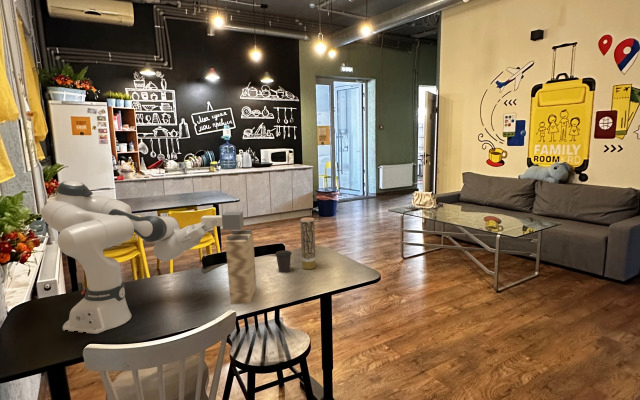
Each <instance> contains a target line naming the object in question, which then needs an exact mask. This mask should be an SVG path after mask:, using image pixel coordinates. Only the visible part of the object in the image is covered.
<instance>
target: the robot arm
mask: <svg viewBox="0 0 640 400" xmlns="http://www.w3.org/2000/svg"><path fill="white" fill-rule="evenodd" d="M92 195H93V191H92V190H90V189H89V188H88V186H87V185H85V184H84V183H82V182H80V181H78V180H77V181H76V180H67V181H62V182H59V184H58V185H57V188H56V196H55V200H52V201H49V202H47V203H46V204H45V205H44V206H43V207H42V209H41V211H40V215H41V218H42V220H43V221H44V222H45V223H46V224H47V225H48V226H49V227H51V228H52V229H53V230H55V231H57V232H59V234H58V236H57V246H58V248H59V251H61V253H63V254H65V255H66V256H68V257H71V258H73V259H75V260H76V261H78V263H79V264H80V265H81V267H82V268H83V270H84V274H85V277H86V279H85V280H86V282H87V286H86V288H84V289H83V290H82V291H81V292H80V293H81V296H82V295H84V294H85V295H84V297H83V298H82V299H80V301H79V302H77V303H76V304H75V305H74V306H73V307H72V308H71V310H70V311H69V317H68V320H67V321H65V323H64V324H63V325H62V331H65V330H68V331H67V332H74V331H78V332H77V333H83V332H86V333H85V334H94V335H95V334H100V333H103V332H104V331H108V330H111V329H114V328H117V327H120V326H122V325H124V324H126V323H127V322H128V321H130V320H131V318H132V317H133V316H132V313H131V311H130V309H129V307H128V304H127V300H126V290H125V284H124V280H123V278H122V269H121V264H120V262H119V261H118V260H117V259H115V258H113V257H111V256H109V257H108V256H105V254H104V250H105V249H109V248H111V247H114V246H115V247H116V246H119V245H121V244H123V243H125V242H126V241H128V240H130V239H132V238H133V236H134V234H136V235H137V236H138V237H139V238H141V239H142V240H143V241H146V242H147V243H148V242H149V243H152V242H154V247H153V249H152V252H153V254H154V257H156V259H158V260H160V261H162V262H170V261H172V260H175V259H176V258H178V257H179V256H181V255H182V254H183V253H185V252H187V251H189V250H192V249H193V248H194V247H196V246H197V245H199V244H200V243H201V241H202V239H203V238H204V236H205V235H206V233H207V232H210V230H211V229H212V228H214V227H215V226H213V225H215V224H216V223H217V221H216V220H215V219H214V220H213V221H211V222H209V223H207V224H205V223H203V224H202V225H201V221H200V222H198V223H194V224H191V225H186V226H185V227H182V228H181V227H180V223H179V222H178V220H177V219H176V218H175V217H173V216H170V215H169V216H168V215H167V216H166V215H165V216H164V215H163V216H157V215H156V216H155V215H146V216H140V215H136V214H133V213H132V208H131V206H130V205H129V204H127V203H126V202H125V201H121V200H119V199H115V198H113V197H112V198H111V197H106V196H98V195H97V196H92Z"/></svg>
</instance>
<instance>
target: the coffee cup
mask: <svg viewBox="0 0 640 400" xmlns="http://www.w3.org/2000/svg"><path fill="white" fill-rule="evenodd" d="M275 256H276V261H277V263H276V264H277V267H278V272H279V273H281V274H284V273H289V272H290V271H291V270H290V269H291V257H292V252H291V251H290V250H286V249H285V250H278V251H276V252H275Z"/></svg>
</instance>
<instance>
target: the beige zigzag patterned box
mask: <svg viewBox="0 0 640 400" xmlns="http://www.w3.org/2000/svg"><path fill="white" fill-rule="evenodd" d="M225 249H226V263H227V275H228V278H227V279H228V290H229V302H230V304H251V302H252V299H253V297H254V296H255V292H256V291H257V280H256V262H255V246H254V232H253V230H252V229H240V230H232V231H231V235H227V236H226V241H225Z"/></svg>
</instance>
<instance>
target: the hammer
mask: <svg viewBox="0 0 640 400" xmlns="http://www.w3.org/2000/svg"><path fill="white" fill-rule="evenodd" d="M214 219H215V220H216V221H217V223H216V224H215V225H213V226H214V227H222V230H223V231H225V230H228V231H229V230H232V231H233V230H242V228H243V227H245V226H244V225H245V224H244V222H245V221H244V211H225V212H224V213H222V214H221V215H220V214H219V215H203V216H201V217H200V222H201V225H202V224H203V223H205V224H207V223H209V222H211V221H213V220H214Z"/></svg>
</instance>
